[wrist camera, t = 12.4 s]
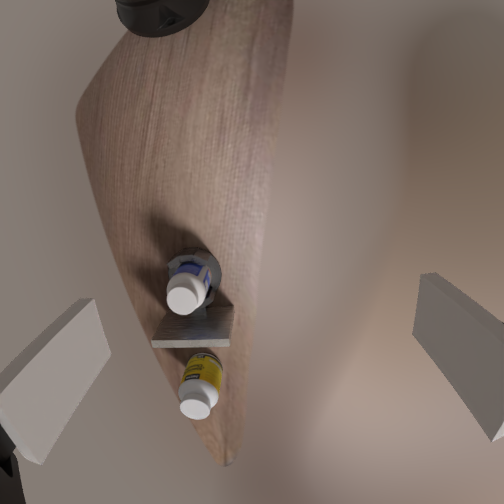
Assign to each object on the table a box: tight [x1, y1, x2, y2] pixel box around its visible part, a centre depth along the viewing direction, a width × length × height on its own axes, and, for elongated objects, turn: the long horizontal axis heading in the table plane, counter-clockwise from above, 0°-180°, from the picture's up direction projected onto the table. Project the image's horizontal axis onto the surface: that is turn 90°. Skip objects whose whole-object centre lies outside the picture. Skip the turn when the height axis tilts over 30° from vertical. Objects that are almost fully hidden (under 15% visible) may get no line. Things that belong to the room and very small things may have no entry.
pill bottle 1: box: [167, 261, 211, 315], centre depth 43 cm, size 5×5×10 cm
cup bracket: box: [151, 247, 235, 348], centre depth 43 cm, size 11×11×10 cm
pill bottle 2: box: [179, 353, 223, 419], centre depth 47 cm, size 6×6×12 cm
